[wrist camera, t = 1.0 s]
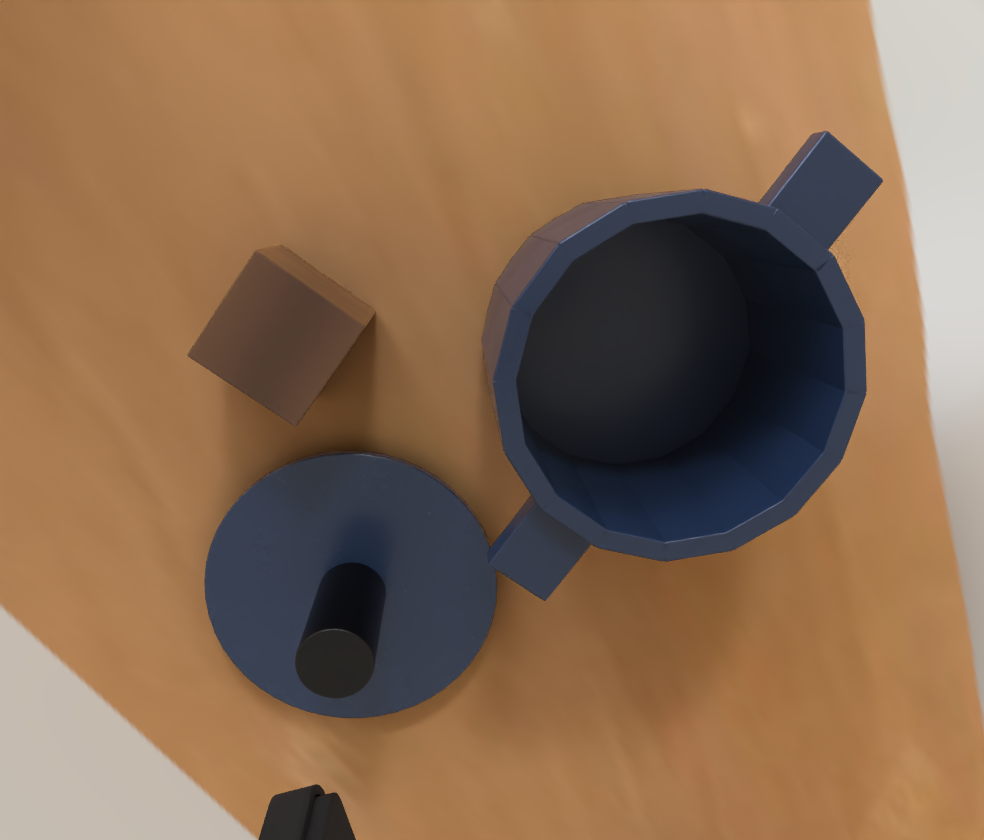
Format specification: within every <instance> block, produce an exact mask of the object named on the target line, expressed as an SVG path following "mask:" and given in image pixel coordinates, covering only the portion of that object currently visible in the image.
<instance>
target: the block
mask: <svg viewBox="0 0 984 840" xmlns="http://www.w3.org/2000/svg"><path fill="white" fill-rule="evenodd" d="M375 313H376V311H375V310H374V309H372V308H371V307H370V306H368V305H367V304H365V303H364V302H363V301H361V300H360V299H358V298H357V297H355V296H354V295H353V294H351V293H350V292H348V291H347V290H346V289H344V288H343V287H341V286H340V285H338V284H337V283H336V282H334V281H333V280H331V279H330V278H328V277H327V276H326V275H324V274H323V273H321V272H320V271H319V270H317V269H316V268H314V267H313V266H311V265H310V264H309V263H307V262H306V261H304V260H303V259H302V258H300V257H299V256H297V255H296V254H294V253H293V252H292V251H290V250H289V249H287V248H286V247H284V246H283V245H280V246H275V247H270V248H265V249H260V250H256V251H254V253H253V255H252V256H251V258H250V259H249V261H248V262H247V264H246V265H245V267H244V268H243V270H242V271H241V273H240V274H239V276H238V278H237V279H236V281H235V282H234V284H233V285H232V287H231V288H230V290H229V291H228V293H227V294H226V296H225V297H224V299H223V301H222V302H221V304H220V305H219V307H218V308H217V310H216V311H215V313H214V314H213V316H212V317H211V319H210V320H209V322H208V324H207V325H206V327H205V328H204V330H203V331H202V333H201V334H200V336H199V337H198V339H197V340H196V342H195V343H194V345H193V346H192V348H191V350H190V351H189V353H188V355H187V356H188V357H190V358H191V359H193V360H194V361H196V362H197V363H199V364H200V365H202V366H204V367H205V368H207V369H208V370H210V371H211V372H213V373H214V374H216V375H217V376H219V377H220V378H222V379H223V380H225V381H226V382H228V383H229V384H231V385H233V386H234V387H236V388H237V389H239V390H240V391H242V392H243V393H245V394H246V395H248V396H249V397H251V398H252V399H254V400H255V401H257V402H259V403H260V404H262V405H263V406H265V407H266V408H268V409H269V410H271V411H272V412H274V413H275V414H277V415H278V416H280V417H281V418H283V419H284V420H286V421H288V422H289V423H291V424H292V425H294V426H297V425H298V424H299V422H300V421H301V419H302V418H303V416H304V415H305V414H306V412H307V411H308V409H309V408H310V406H311V405H312V404H313V402H314V401H315V399H316V398H317V396H318V395H319V393H320V392H321V391H322V389H323V388H324V386H325V385H326V383H327V382H328V381H329V379H330V378H331V376H332V375H333V373H334V372H335V370H336V369H337V368H338V366H339V365H340V363H341V362H342V360H343V359H344V358H345V356H346V355H347V353H348V352H349V350H350V349H351V348H352V346H353V345H354V343H355V342H356V340H357V339H358V337H359V336H360V335H361V333H362V332H363V330H364V329H365V327H366V326H367V325H368V323H369V322H370V320H371V319H372V317H373V316H374V314H375Z"/></svg>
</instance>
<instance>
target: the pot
mask: <svg viewBox="0 0 984 840" xmlns="http://www.w3.org/2000/svg"><path fill="white" fill-rule="evenodd" d="M882 182H883V180H882V178H881V177H879V176H878V175H877V174H876V173H875V172H874V171H873V170H871V169H870V168H869V167H868V166H867V165H866V164H865V163H863V162H862V161H861V160H860V159H859V158H858V157H857V156H855V155H854V154H853V153H852V152H851V151H850V150H849V149H847V148H846V147H845V146H844V145H843V144H842V143H840V142H839V141H838V140H837V139H836V138H835V137H834V136H832V135H831V134H830V133H829V132H828V131H823V132H819V133H814V134H812V135H811V136H810V137H809V138H808V140H807V141H806V142H805V144H804V145H803V146H802V147H801V149H800V150H799V151H798V153H797V154H796V155H795V156H794V158H793V159H792V160H791V162H790V163H789V164H788V165H787V167H786V168H785V169H784V171H783V172H782V173H781V174H780V176H779V177H778V178H777V180H776V181H775V182H774V184H773V185H772V186H771V187H770V189H769V190H768V191H767V193H766V194H765V195H764V196H763V198H762V199H761V200H760V202H759V203H757V202H753V201H749V200H745V199H742V198H738V197H734V196H730V195H726V194H723V193H719V192H715V191H711V190H708V189H693V190H682V191H670V192H659V193H647V194H637V195H630V196H624V197H618V198H611V199H605V200H599V201H593V202H586V203H582V204H580V205H577V206H576V207H574V208H573V209H571V210H569V211H568V212H566V213H564V214H562V215H560V216H558V217H557V218H555V219H553V220H552V221H550V222H549V223H547V224H546V225H545V226H543V227H542V228H540V229H539V230H537V231H536V232H534V233H532V234H531V236H529V237H528V238H527V240H526V241H525V242H524V244H523V245H522V246H521V247H520V249H519V250H518V251H517V252H516V253H515V255H514V256H513V257H512V258H511V260H510V261H509V263H508V264H507V266H506V268H505V269H504V271H503V272H502V274H501V276H500V277H499V278H498V280H497V281H496V284H495V285H494V289H493V293H492V297H491V300H490V303H489V307H488V310H487V315H486V321H485V326H484V330H483V335H482V347H483V353H484V360H485V367H486V372H487V379H488V385H489V391H490V396H491V400H492V404H493V409H494V413H495V417H496V421H497V425H498V429H499V433H500V438H501V442H502V446H503V450H504V452H505V454H506V456H507V458H508V459H509V461H510V462H511V464H512V465H513V467H514V469H515V470H516V472H517V473H518V475H519V476H520V478H521V480H522V481H523V483H524V484H525V486H526V488H527V489H528V491H529V492H530V494H531V496H530V497H529V499H528V500H527V501H526V503H525V504H524V505H523V506H522V508H521V509H520V510H519V512H518V513H517V514H516V515H515V517H514V518H513V519H512V521H511V522H510V523H509V524H508V526H507V527H506V528H505V530H504V531H503V532H502V534H501V535H500V536H499V537H498V539H497V540H496V541H495V543H494V544H493V545H492V546H491V548H490V549H489V550H488V552H487V557H488V564H489V565H490V566H491V567H493V568H494V569H496V570H497V571H499V572H500V573H502V574H504V575H505V576H507V577H508V578H510V579H511V580H513V581H514V582H516V583H517V584H519V585H520V586H522V587H524V588H525V589H527V590H528V591H530V592H531V593H533V594H534V595H536V596H537V597H539V598H540V599H542V600H544V601H546V600H547V599H548V597H549V596H550V595H551V594H552V592H553V591H554V590H555V589H556V587H557V586H558V585H559V584H560V582H561V581H562V580H563V579H564V577H565V576H566V575H567V574H568V572H569V571H570V570H571V569H572V567H573V566H574V565H575V564H576V563H577V561H578V560H579V559H580V558H581V556H582V555H583V554H584V553H585V551H586V550H587V549H588V548H589V546H590V545H591V544H592V545H593V546H595V547H598V548H600V549H605V550H609V551H614V552H619V553H624V554H629V555H634V556H638V557H643V558H648V559H653V560H658V561H665V562H667V561H673V560H679V559H685V558H691V557H697V556H703V555H709V554H715V553H721V552H727V551H732V550H735V549H737V548H738V547H740V546H742V545H744V544H746V543H747V542H749V541H751V540H753V539H754V538H756V537H758V536H760V535H761V534H763V533H765V532H767V531H768V530H770V529H772V528H774V527H775V526H777V525H779V524H781V523H783V522H784V521H786V520H788V519H790V518H791V517H793V516H794V515H796V514H797V512H798V511H799V510H800V509H801V508H802V507H803V505H804V504H805V503H806V502H807V501H808V500H809V498H810V497H811V496H812V495H813V494H814V493H815V491H816V490H817V489H818V488H819V487H820V486H821V484H822V483H823V482H824V481H825V480H826V479H827V477H828V476H829V475H830V474H831V473H832V472H833V470H834V469H835V468H836V467H837V466H838V465H839V463H840V462H841V460H842V459H843V456H844V453H845V451H846V448H847V445H848V442H849V440H850V437H851V434H852V431H853V429H854V426H855V423H856V421H857V418H858V415H859V412H860V410H861V407H862V404H863V401H864V399H865V396H866V391H867V390H866V355H865V323H864V318H863V316H862V314H861V311H860V309H859V307H858V305H857V303H856V301H855V299H854V297H853V294H852V292H851V290H850V288H849V286H848V284H847V282H846V280H845V278H844V275H843V273H842V271H841V269H840V267H839V265H838V263H837V261H836V258H835V256H833V254H832V253H831V252H830V251H829V250H828V249H829V248H830V247H831V245H832V244H833V243H834V242H835V240H836V239H837V238H838V237H839V235H840V234H841V233H842V232H843V230H844V229H845V228H846V227H847V226H848V224H849V223H850V222H851V221H852V219H853V218H854V217H855V216H856V214H857V213H858V212H859V211H860V209H861V208H862V207H863V206H864V204H865V203H866V202H867V201H868V199H869V198H870V197H871V196H872V194H873V193H874V192H875V191H876V189H877V188H878V187H879V186H880V185H881V183H882Z"/></svg>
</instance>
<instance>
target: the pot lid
mask: <svg viewBox="0 0 984 840" xmlns="http://www.w3.org/2000/svg"><path fill="white" fill-rule="evenodd" d="M490 548H491V546H490V544H489V541H488V539H487V536H486V534H485V531H484V529H483V528H482V526H481V524H480V522H479V521H478V519H477V517H476V515H475V514H474V513H473V511H472V510H471V509H470V507H469V506H468V505H467V504H466V502H465V501H464V500H463V499H462V498H461V497H460V496H459V495H458V494H457V493H456V492H455V491H454V490H453V489H452V488H451V487H450V486H448V485H447V484H446V483H444V482H443V481H442V480H440V479H439V478H438V477H436V476H435V475H433V474H431V473H430V472H428V471H426V470H424V469H423V468H421V467H419V466H417V465H414V464H412V463H409V462H407V461H405V460H402V459H399V458H395V457H392V456H388V455H385V454H380V453H373V452H366V451H334V452H324V453H320V454H315V455H311V456H307V457H303V458H300V459H298V460H295V461H292V462H290V463H287V464H285V465H283V466H281V467H279V468H277V469H275V470H273V471H271V472H270V473H268V474H267V475H265V476H264V477H262V478H261V479H260V480H258V481H257V482H255V483H254V484H253V485H252V486H251V487H250V488H249V489H248V490H247V491H245V492H244V493H243V494H242V495H241V496H240V497H239V499H238V500H237V501H236V502H235V504H234V505H233V506H232V507H231V509H230V510H229V511H228V512H227V514H226V516H225V517H224V519H223V521H222V522H221V524H220V526H219V527H218V529H217V531H216V534H215V536H214V539H213V541H212V544H211V546H210V550H209V554H208V558H207V562H206V571H205V599H206V604H207V609H208V614H209V617H210V620H211V623H212V626H213V629H214V632H215V634H216V636H217V638H218V640H219V641H220V643H221V645H222V647H223V649H224V650H225V652H226V653H227V655H228V656H229V657H230V659H231V660H232V662H233V663H234V664H235V665H236V666H237V667H238V668H239V670H240V671H241V672H242V673H243V674H244V675H245V676H246V677H247V678H248V679H250V680H251V681H252V682H253V683H254V684H255V685H257V686H258V687H259V688H261V689H262V690H264V691H265V692H267V693H268V694H270V695H271V696H273V697H274V698H276V699H278V700H280V701H283V702H285V703H287V704H289V705H291V706H293V707H296V708H299V709H302V710H305V711H307V712H312V713H316V714H320V715H324V716H332V717H341V718H365V717H374V716H381V715H386V714H390V713H395V712H398V711H401V710H404V709H407V708H410V707H413V706H415V705H417V704H419V703H421V702H423V701H425V700H427V699H429V698H431V697H432V696H434V695H436V694H437V693H439V692H440V691H442V690H443V689H445V688H446V687H447V686H448V685H449V684H451V683H452V682H453V681H454V680H455V679H456V678H458V677H459V676H460V674H461V673H462V672H463V671H464V670H465V669H466V668H467V667H468V666H469V665H470V663H471V662H472V660H473V659H474V658H475V656H476V655H477V653H478V652H479V650H480V648H481V647H482V645H483V643H484V641H485V639H486V637H487V635H488V632H489V629H490V626H491V623H492V620H493V616H494V611H495V606H496V597H497V579H496V569H494V568H493V567H491V566H490V565H489V564H488V557H487V552H488V550H489V549H490Z"/></svg>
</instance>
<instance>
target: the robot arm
mask: <svg viewBox="0 0 984 840" xmlns="http://www.w3.org/2000/svg"><path fill="white" fill-rule="evenodd" d="M259 840H356V839H355V836H354V834H353V831H352V828H351V826H350V823H349V820H348V817H347V815H346V812H345V809H344V807H343V804H342V801H341V799H340V797H339V795H338V794H337V793H330V794H325V792H324V790H323V789H322V787H321V786H320V785H312V786H308V787H304V788H300V789H297V790H293V791H289V792H285V793H281V794H277V795H275V796H274V797H272V799H271V801H270V804H269V807H268V810H267V813H266V817H265V820H264V824H263V827H262V830H261V834H260V837H259Z"/></svg>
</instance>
